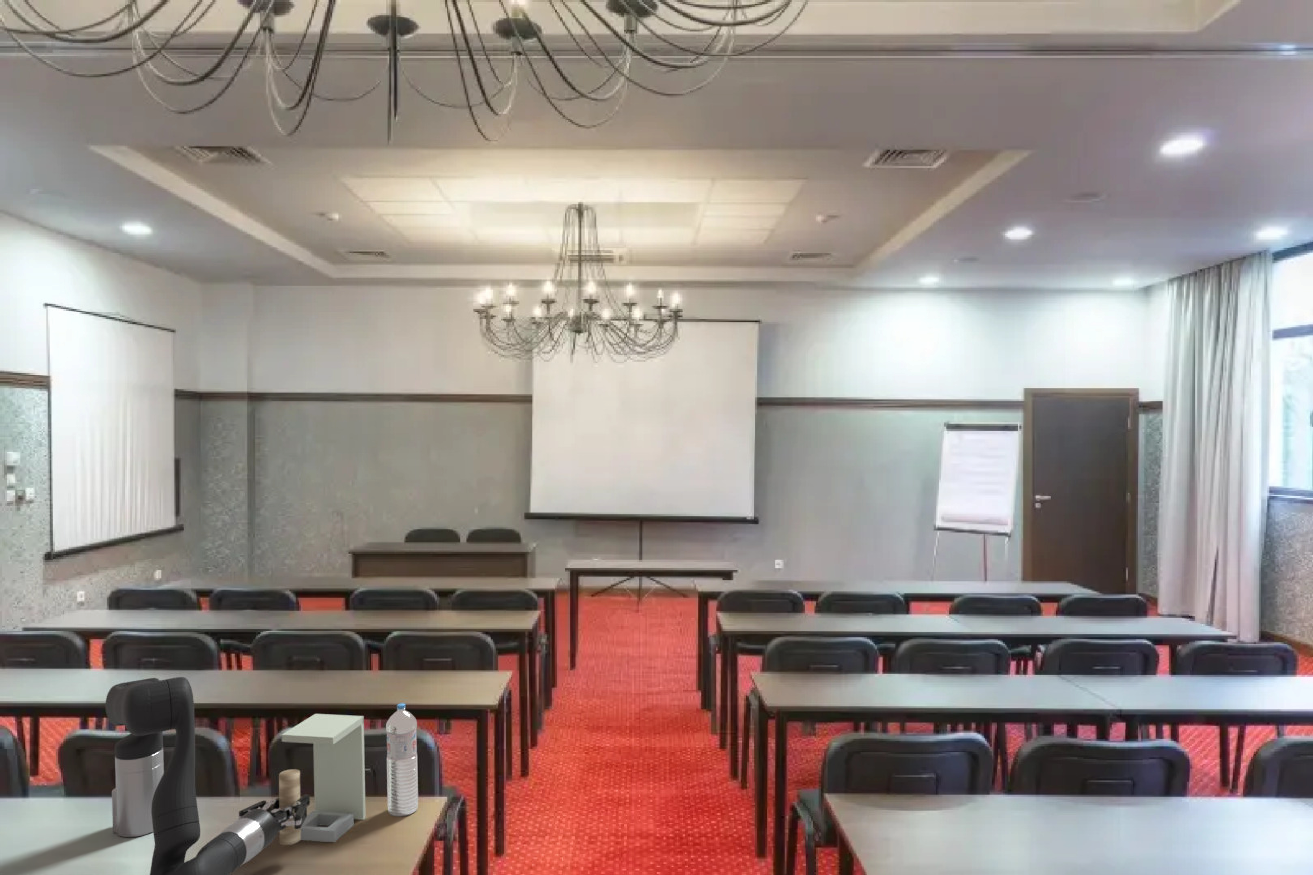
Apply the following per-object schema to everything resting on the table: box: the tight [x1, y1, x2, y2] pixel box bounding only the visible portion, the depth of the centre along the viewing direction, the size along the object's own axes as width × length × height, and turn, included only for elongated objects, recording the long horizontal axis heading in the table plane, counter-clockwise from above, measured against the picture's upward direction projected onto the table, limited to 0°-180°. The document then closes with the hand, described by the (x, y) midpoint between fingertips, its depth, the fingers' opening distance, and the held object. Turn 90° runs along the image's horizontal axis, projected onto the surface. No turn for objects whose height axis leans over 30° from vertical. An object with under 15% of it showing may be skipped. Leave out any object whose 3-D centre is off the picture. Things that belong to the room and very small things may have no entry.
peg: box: [278, 768, 301, 846], centre depth 175 cm, size 4×4×14 cm
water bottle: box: [385, 702, 419, 817], centre depth 197 cm, size 7×7×25 cm
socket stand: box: [281, 713, 366, 843], centre depth 188 cm, size 12×13×24 cm
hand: (297, 798), depth 177 cm, fingers closed on peg, 4 cm apart
